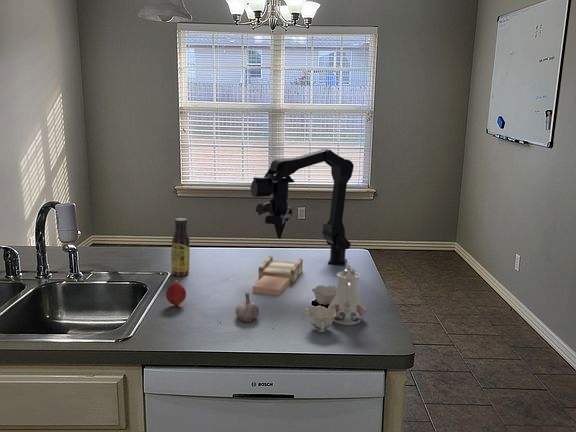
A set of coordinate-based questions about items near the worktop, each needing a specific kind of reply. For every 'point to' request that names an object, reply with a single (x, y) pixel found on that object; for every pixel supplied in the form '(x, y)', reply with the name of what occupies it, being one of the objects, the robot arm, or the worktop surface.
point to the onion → (176, 293)
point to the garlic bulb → (247, 310)
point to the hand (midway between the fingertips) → (279, 238)
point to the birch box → (281, 268)
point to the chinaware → (337, 302)
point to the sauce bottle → (180, 249)
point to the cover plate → (271, 285)
